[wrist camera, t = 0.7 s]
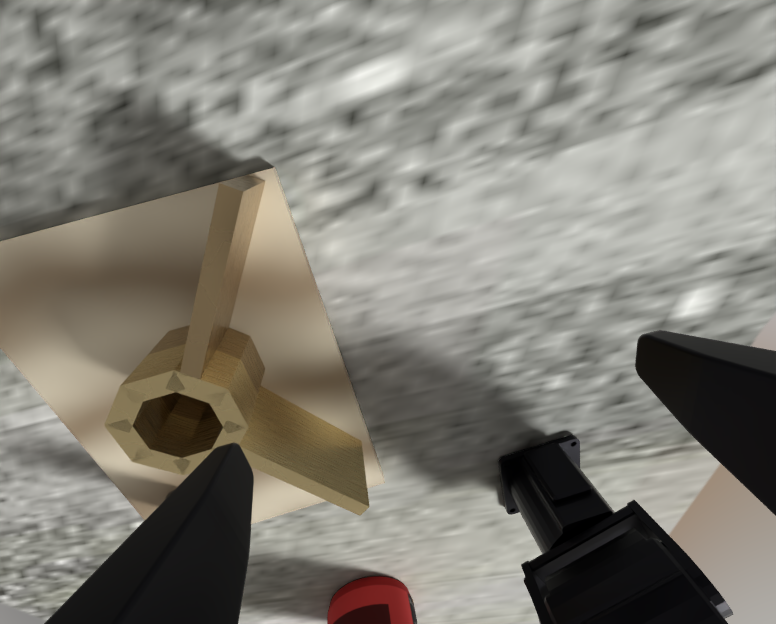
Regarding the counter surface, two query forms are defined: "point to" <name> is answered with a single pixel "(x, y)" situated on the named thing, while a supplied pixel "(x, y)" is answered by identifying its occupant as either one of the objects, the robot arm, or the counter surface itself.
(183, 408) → the spoked octagonal hub
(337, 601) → the canned food
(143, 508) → the mounting board
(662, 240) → the counter surface
